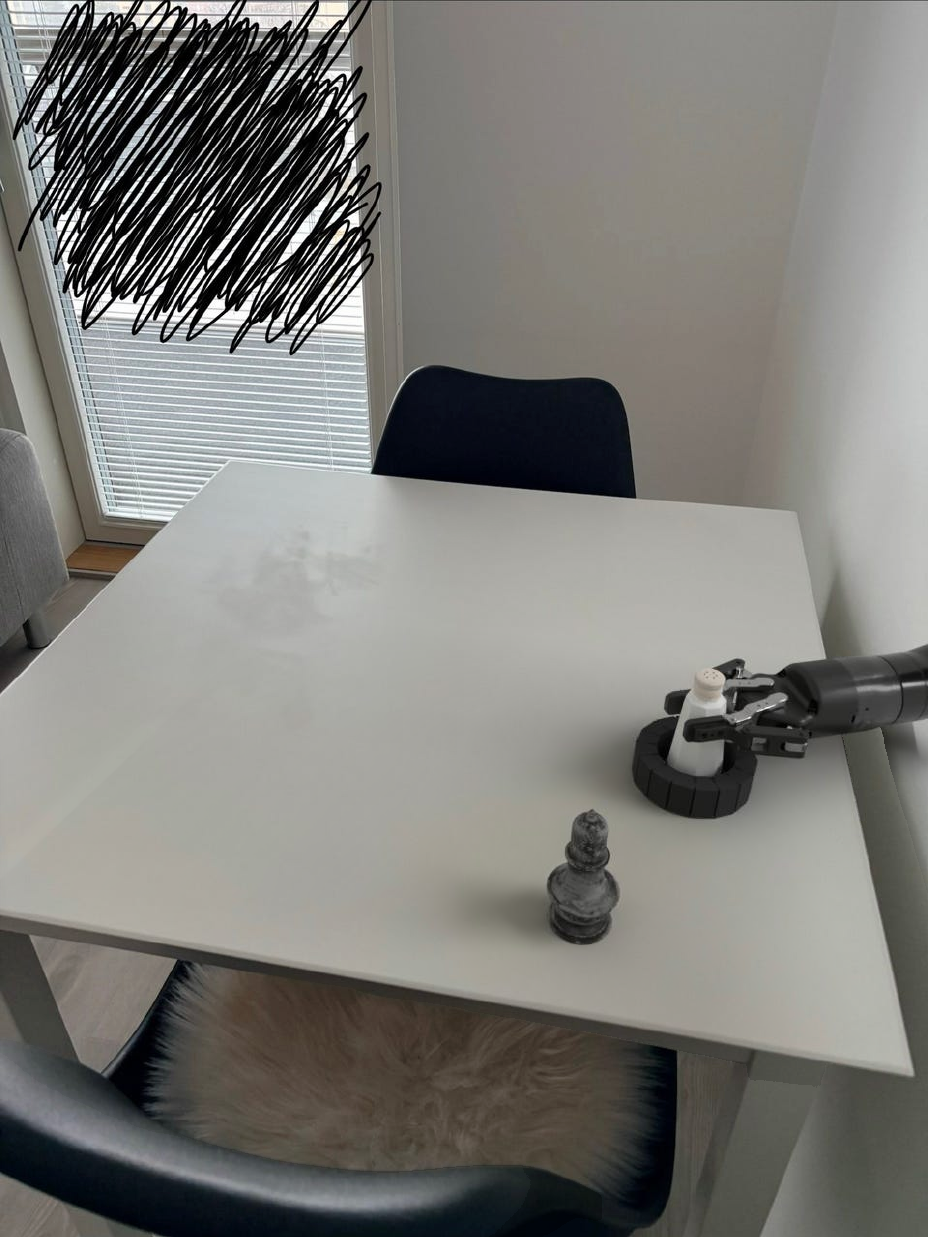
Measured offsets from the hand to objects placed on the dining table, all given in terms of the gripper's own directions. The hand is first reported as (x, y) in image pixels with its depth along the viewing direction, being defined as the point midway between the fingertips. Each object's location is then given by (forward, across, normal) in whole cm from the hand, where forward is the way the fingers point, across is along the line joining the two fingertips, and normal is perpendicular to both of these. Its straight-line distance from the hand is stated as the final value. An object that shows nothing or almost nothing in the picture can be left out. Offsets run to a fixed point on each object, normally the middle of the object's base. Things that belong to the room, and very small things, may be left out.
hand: (676, 717), depth 83 cm
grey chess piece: (+14, +14, +8) cm, 22 cm away
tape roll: (-3, 0, +8) cm, 8 cm away
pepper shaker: (-3, 0, +7) cm, 7 cm away
